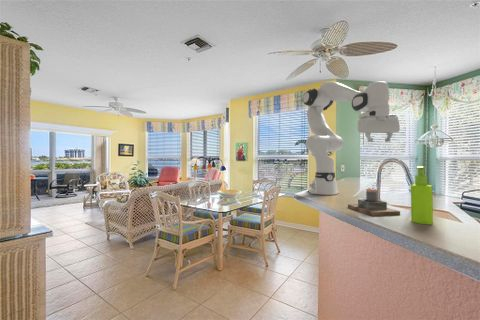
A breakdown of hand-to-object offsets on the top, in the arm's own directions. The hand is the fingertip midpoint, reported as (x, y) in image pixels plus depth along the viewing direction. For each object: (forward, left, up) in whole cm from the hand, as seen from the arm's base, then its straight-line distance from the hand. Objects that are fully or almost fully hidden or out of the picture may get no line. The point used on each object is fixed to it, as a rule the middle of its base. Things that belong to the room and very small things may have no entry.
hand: (379, 141), depth 106 cm
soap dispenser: (+29, -8, -31) cm, 43 cm away
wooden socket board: (+11, -13, -31) cm, 35 cm away
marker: (+11, -13, -30) cm, 34 cm away
